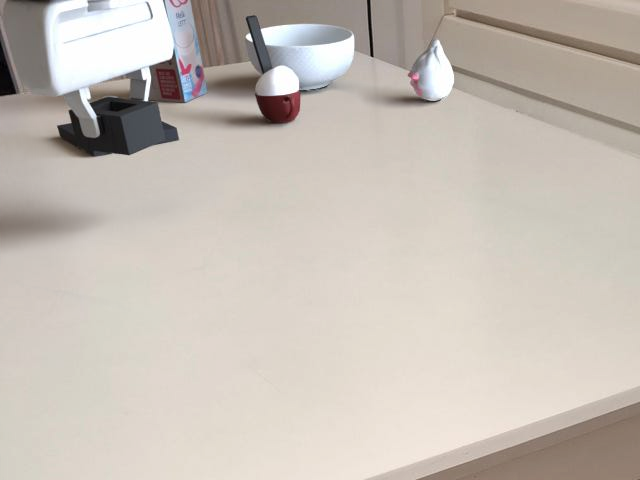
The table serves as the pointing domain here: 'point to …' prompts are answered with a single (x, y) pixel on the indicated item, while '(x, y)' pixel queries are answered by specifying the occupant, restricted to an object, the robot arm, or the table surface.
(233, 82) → the table surface
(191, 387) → the table surface
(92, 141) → the black box
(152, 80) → the milk carton
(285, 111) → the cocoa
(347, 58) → the cereal bowl
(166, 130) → the base pad
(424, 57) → the figurine
